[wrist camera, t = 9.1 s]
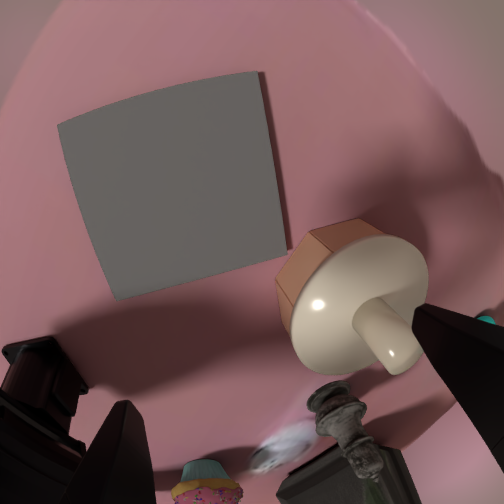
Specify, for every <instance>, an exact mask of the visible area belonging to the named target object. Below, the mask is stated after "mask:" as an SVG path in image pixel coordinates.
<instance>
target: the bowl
mask: <svg viewBox="0 0 504 504" xmlns="http://www.w3.org/2000/svg"><path fill="white" fill-rule="evenodd" d="M374 234H385V233H383V232H382V231H380V230H378V229H377V228H375V227H373V226H371V225H370V224H368V223H366V222H365V221H363V220H361V219H360V218H357V219H353V220H349V221H345V222H342V223H338V224H334V225H330V226H326V227H323V228H319V229H315V230H311V231H310V233H309V232H308V233H307V234H306V236H305V237H304V239H303V240H302V242H301V243H300V244H299V246H298V247H297V249H296V250H295V251H294V253H293V254H292V256H291V257H290V258H289V260H288V261H287V263H286V264H285V265H284V267H283V268H282V270H281V271H280V272H279V274H278V275H277V277H276V280H275V283H276V289H277V295H278V301H279V308H280V314H281V320H282V323H283V325H284V327H285V329H286V331H287V332H288V334H289V336H290V330H289V326H290V318H291V314H292V310H293V307H294V304H295V301H296V299H297V297H298V295H299V293H300V291H301V289H302V287H303V286H304V284H305V283H306V281H307V280H308V278H309V277H310V276H311V275H312V274H313V272H314V271H315V270H316V269H317V268H318V267H319V266H320V265H321V264H322V263H323V262H324V261H325V260H326V259H327V258H328V257H329V256H331V255H332V254H333V253H334V252H336V251H337V250H339V249H340V248H342V247H343V246H345V245H347V244H348V243H350V242H352V241H354V240H357V239H360V238H362V237H365V236H370V235H374Z"/></svg>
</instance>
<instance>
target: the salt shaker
mask: <svg viewBox="0 0 504 504" xmlns="http://www.w3.org/2000/svg"><path fill="white" fill-rule="evenodd" d="M350 389H351V388H350V385H349V384H348V382H345V381H335V382H331V383H328V384H326V385H324V386H322V387H321V388H319V389H318V390H316V391H315V392H314V393H313V394H312V395H311V396H310V398H309V399H308V401H307V408H308V410H309V411H311V412H314V413H316V433H317V434H318V435H320V436H324V437H327V436H333V437H334V438H335V439H336V440H337V442H338V444H339V446H340V448H341V449H342V453H341V456H342V457H344V458H347V459H348V461H349V463H350V464H351V466H352V468H353V470H354V472H355V474H356V475H357V476H358V477H359V478H361V479H367V478H373V479H374V480H373V481H375V482H377V483H378V482H379V478H380V477H377V475H378V474H379V472H380V471H381V469H382V468H383V464H384V463H383V460H382V458H381V457H380V455H379V453H378V452H377V450H376V448H375V447H374V445H373V444H372V443H373V441H374V438H373V437H372V436H368V434H367V432H366V431H365V429H364V428H363V426H362V423H361V419H362V418H363V416H364V415H365V413H366V410H367V405H366V404H365V403H364V402H361V401H359V399H357V398H356V397H354V396H352V395H348V394H349V393H350Z"/></svg>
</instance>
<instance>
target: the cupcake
mask: <svg viewBox="0 0 504 504" xmlns="http://www.w3.org/2000/svg"><path fill="white" fill-rule="evenodd" d="M243 493H244V492H243V489H242V488H241V487H240V485H239V483H236V482H235V481H233V480H231V479H230V477H229V476H228V475H227V474H226V472H225V471H224V469H223V468H222V466H221V464H220V463H219V462H217V461H215V460H210V459H200V460H194V461H191V462H189V463H187V464H186V465H185V466H184V469H183V474H182V478H181V481H180V483H178V484H177V485H176V486H175V487H173V488H172V491H171V495H172V498H173V500H174V501H175V504H238V502H241V500H240V499H241V498H243ZM239 500H240V501H239Z"/></svg>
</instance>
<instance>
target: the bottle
mask: <svg viewBox="0 0 504 504" xmlns="http://www.w3.org/2000/svg"><path fill="white" fill-rule="evenodd" d="M372 444H373V445H374V447H375V448H376V450H377V452H378V453H379V455H380V457H381V458H382V460H383V463H384V464H383V468H382V469H381V471H380V472H379V474H378V475H377V477H380V478H379V482H378V483H377V482H375V481H373V480H374V479H373V478H367V479H361V478H359V477H358V476H357V475H356V474H355V472H354V470H353V468H352V466H351V464H350V463H349V461H348V459H347V458H344V457H342V456H341V453H342V449H341V448H340V446H339V445H338V446H337V447H335V448H334V449H332V450H331V451H329V452H328V453H326V454H325V455H323V456H321V457H320V458H318V459H317V460H315V461H313V462H312V463H310V464H309V465H307V466H305V467H304V468H302V469H300V470H298V471H297V472H295V473H293V474H291V475H290V476H288V477H287V478H286V479H285V480H284V481H283V482H282V483H281V485H280V487H279V489H278V491H277V493H276V497H277V498H278V500H279V502H280V503H281V504H422V503H421V500H420V498H419V495H418V493H417V490H416V488H415V485H414V483H413V480H412V478H411V475H410V473H409V470H408V468H407V465H406V463H405V460H404V458H403V456H402V453H401V451H400V450H399V449H394V448H390V447H385V446H381V445H377V444H374V443H372Z"/></svg>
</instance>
